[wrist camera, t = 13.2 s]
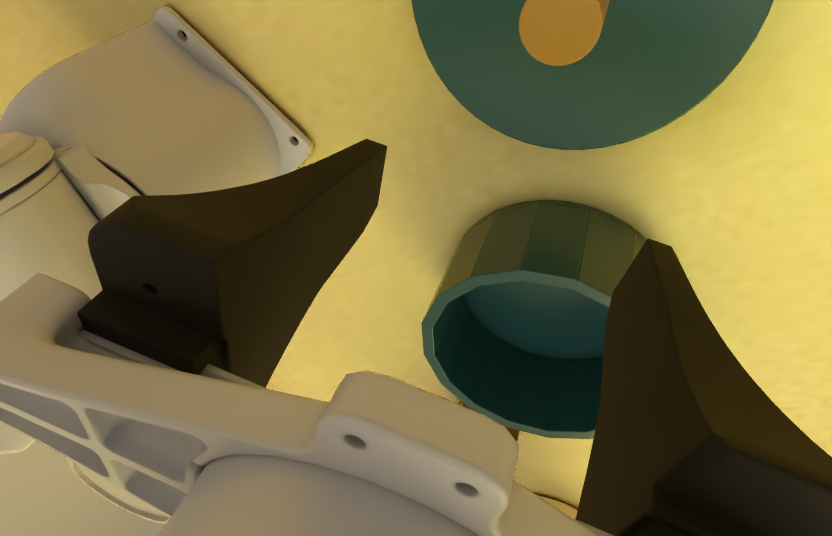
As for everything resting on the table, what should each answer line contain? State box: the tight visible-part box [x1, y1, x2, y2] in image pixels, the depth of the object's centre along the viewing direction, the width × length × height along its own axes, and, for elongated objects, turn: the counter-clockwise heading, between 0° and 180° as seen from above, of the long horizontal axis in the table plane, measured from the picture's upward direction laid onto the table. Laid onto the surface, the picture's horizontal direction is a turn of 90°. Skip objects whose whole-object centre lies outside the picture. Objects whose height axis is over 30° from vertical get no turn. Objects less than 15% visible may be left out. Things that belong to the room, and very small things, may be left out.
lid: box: [412, 0, 773, 150], centre depth 17 cm, size 12×12×5 cm
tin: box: [422, 200, 646, 439], centre depth 27 cm, size 11×11×5 cm
